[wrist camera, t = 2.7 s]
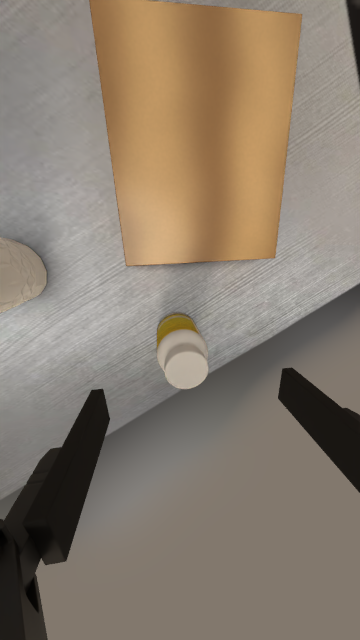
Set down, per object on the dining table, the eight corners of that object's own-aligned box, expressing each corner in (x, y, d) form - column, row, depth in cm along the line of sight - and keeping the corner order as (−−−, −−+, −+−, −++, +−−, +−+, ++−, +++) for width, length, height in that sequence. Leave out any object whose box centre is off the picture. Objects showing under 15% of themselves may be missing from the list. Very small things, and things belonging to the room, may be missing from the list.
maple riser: (131, 265, 22) (125, 266, 18) (104, 56, 16) (88, -6, 12) (256, 258, 23) (275, 258, 20) (271, 66, 18) (302, 13, 14)
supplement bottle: (148, 327, 25) (143, 367, 15) (180, 303, 24) (195, 330, 15) (172, 354, 26) (180, 405, 17) (202, 333, 26) (227, 373, 17)
